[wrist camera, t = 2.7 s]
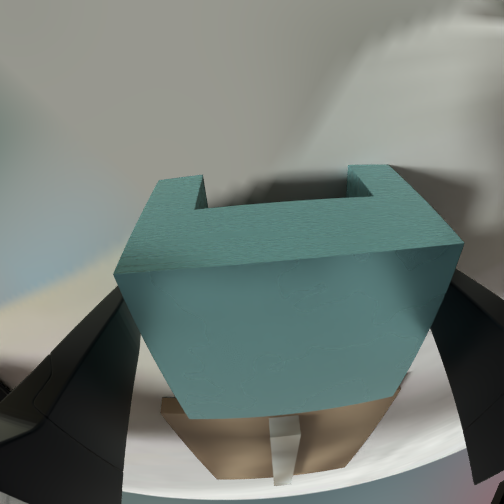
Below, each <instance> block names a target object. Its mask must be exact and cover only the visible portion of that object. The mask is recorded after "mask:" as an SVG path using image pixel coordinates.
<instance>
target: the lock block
mask: <svg viewBox="0 0 504 504" xmlns="http://www.w3.org/2000/svg"><path fill="white" fill-rule="evenodd" d="M463 246H464V242H463V241H462V240H461V239H460V237H459V236H458V235H457V234H456V233H455V232H454V231H453V230H452V228H451V227H450V226H449V225H448V224H447V223H446V222H445V221H444V220H443V219H442V217H441V216H440V215H439V214H438V213H437V212H436V211H435V210H434V209H433V208H432V207H431V206H430V205H429V204H428V203H427V202H426V201H425V200H424V199H423V198H422V197H421V196H420V195H419V194H418V193H417V192H416V191H415V190H414V189H413V188H412V187H411V186H410V185H409V184H408V183H407V182H406V181H405V180H404V179H403V178H402V177H401V176H400V175H399V174H398V173H397V172H395V171H394V170H393V169H392V168H391V167H390V166H389V165H348V177H347V192H346V198H332V199H315V200H300V201H286V202H273V203H261V204H249V205H238V206H227V207H216V208H208V203H207V197H206V191H205V185H204V179H203V175H195V176H187V177H179V178H172V179H164V180H159V181H158V183H157V185H156V187H155V188H154V190H153V192H152V194H151V196H150V198H149V200H148V202H147V204H146V206H145V208H144V210H143V212H142V214H141V216H140V218H139V220H138V222H137V224H136V226H135V228H134V230H133V232H132V234H131V236H130V238H129V240H128V242H127V245H126V247H125V249H124V251H123V253H122V255H121V258H120V260H119V262H118V264H117V267H116V269H115V271H114V274H113V275H114V277H115V280H116V282H117V284H118V287H119V289H120V291H121V293H122V296H123V298H124V300H125V302H126V304H127V306H128V309H129V311H130V313H131V315H132V317H133V319H134V321H135V323H136V325H137V327H138V329H139V331H140V333H141V335H142V337H143V339H144V341H145V343H146V345H147V347H148V349H149V351H150V353H151V354H152V356H153V358H154V360H155V362H156V364H157V365H158V367H159V369H160V371H161V373H162V374H163V376H164V378H165V380H166V381H167V383H168V385H169V387H170V388H171V390H172V392H173V393H174V395H175V397H176V398H177V400H178V402H179V403H180V405H181V407H182V408H183V410H184V412H185V413H186V415H187V416H188V418H189V419H230V418H250V417H264V416H276V415H286V414H295V413H303V412H311V411H318V410H325V409H331V408H337V407H343V406H349V405H354V404H359V403H364V402H369V401H374V400H379V399H383V398H387V397H392V396H393V395H394V393H395V392H396V390H397V388H398V387H399V385H400V383H401V382H402V380H403V378H404V376H405V375H406V373H407V371H408V369H409V368H410V366H411V364H412V362H413V360H414V358H415V357H416V355H417V353H418V351H419V349H420V347H421V345H422V343H423V341H424V339H425V337H426V335H427V333H428V331H429V329H430V327H431V325H432V323H433V321H434V319H435V316H436V314H437V312H438V310H439V307H440V305H441V303H442V301H443V298H444V296H445V294H446V291H447V289H448V286H449V284H450V281H451V279H452V276H453V274H454V271H455V268H456V266H457V263H458V260H459V257H460V254H461V252H462V249H463Z"/></svg>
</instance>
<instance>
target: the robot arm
mask: <svg viewBox="0 0 504 504" xmlns="http://www.w3.org/2000/svg"><path fill="white" fill-rule="evenodd" d="M430 329H431V331H432V334H433V337H434V339H435V342H436V345H437V348H438V350H439V353H440V356H441V359H442V362H443V365H444V368H445V371H446V374H447V377H448V380H449V383H450V386H451V390H452V393H453V396H454V400H455V403H456V407H457V410H458V414H459V418H460V421H461V425H462V429H463V434H464V438H465V442H466V447H467V451H468V456H469V461H470V466H471V470H472V477H473V482H474V485H477V484H478V483H481V482H482V481H485V480H487V479H488V478H490V477H492V476H494V475H496V474H498V473H500V472H501V471H503V470H504V300H503V299H501V298H500V297H498V296H497V295H496V294H494V293H493V292H491V291H490V290H488V289H487V288H485V287H484V286H482V285H481V284H479V283H477V282H476V281H474V280H473V279H471V278H470V277H468V276H467V275H465V274H463V273H462V272H460V271H459V270H457V269H456V268H455V271H454V274H453V276H452V279H451V281H450V284H449V286H448V289H447V291H446V294H445V296H444V298H443V301H442V303H441V305H440V307H439V310H438V312H437V314H436V316H435V319H434V321H433V323H432V325H431V327H430ZM140 337H141V333H140V331H139V329H138V327H137V325H136V323H135V321H134V319H133V317H132V315H131V313H130V311H129V309H128V306H127V304H126V302H125V300H124V298H123V296H122V293H121V291H120V289H119V287H118V286H117V287H116V288H115V289H114V290H113V291H112V292H111V293H109V294H108V295H107V296H106V297H105V298H104V299H103V300H102V301H101V302H100V303H99V304H98V305H97V306H96V307H95V308H94V309H93V310H92V311H91V312H90V313H89V314H88V315H87V316H86V317H85V318H84V319H83V320H82V321H81V322H80V323H79V324H78V325H77V326H76V327H75V328H74V329H73V330H72V331H71V332H70V333H69V334H68V335H67V336H66V337H65V338H64V339H63V340H62V341H61V342H60V343H59V344H58V345H57V346H56V347H55V348H54V350H53V351H52V352H51V353H50V354H49V355H48V356H47V357H46V358H45V359H44V360H43V361H42V362H41V363H40V364H39V365H38V366H37V367H36V368H35V369H34V370H33V371H32V373H30V374H29V375H28V376H27V377H26V378H25V379H24V380H23V381H22V382H21V383H20V384H19V385H18V386H17V387H16V388H15V389H14V390H13V391H12V392H10V391H8V390H7V389H6V388H5V387H4V386H3V385H2V384H1V383H0V504H121V499H122V483H123V472H122V471H123V469H124V458H125V448H126V438H127V430H128V422H129V414H130V407H131V400H132V393H133V386H134V380H135V374H136V368H137V362H138V356H139V349H140ZM491 504H504V480H503V481H502V482H500V483H499V486H498V488H497V491H496V493H495V495H494V498H493V500H492V502H491Z"/></svg>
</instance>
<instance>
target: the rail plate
mask: <svg viewBox="0 0 504 504" xmlns="http://www.w3.org/2000/svg"><path fill="white" fill-rule="evenodd" d="M400 390H401V388H400V385H399V387H398V388H397V390H396V392H395V393H394V395H393V396H392V397H387V398H383V399H379V400H374V401H369V402H364V403H359V404H354V405H349V406H343V407H337V408H331V409H325V410H318V411H311V412H303V413H295V414H286V415H276V416H264V417H250V418H230V419H189V418H188V416H187V415H186V413H185V412H184V410H183V408H182V407H181V405H180V403H179V402H178V400H177V398H162V404H161V415H162V416H163V417H164V418H165V420H166V421H167V422H168V424H169V425H170V426H171V427H172V429H173V430H174V431H175V432H176V434H177V435H178V436H179V437H180V438H181V440H182V441H183V442H184V443H185V444H186V446H187V447H188V448H189V449H190V450H191V451H192V452H193V454H194V455H195V456H196V457H197V458H198V459H199V460H200V462H201V463H202V464H203V465H204V466H205V467H206V468H207V469H208V470H209V471H210V472H211V473H212V475H213V476H214V477H215V478H216V479H255V478H270V477H274V486H280V485H290V484H291V482H292V477H293V475H300V474H307V473H314V472H321V471H327V470H333V469H338V468H343V467H345V466H346V465H347V464H348V463H349V461H350V460H351V459H352V458H353V457H354V455H355V454H356V453H357V451H358V450H359V449H360V448H361V446H362V445H363V444H364V442H365V441H366V440H367V438H368V437H369V436H370V434H371V433H372V431H373V430H374V429H375V427H376V426H377V424H378V423H379V422H380V420H381V419H382V417H383V416H384V414H385V413H386V411H387V410H388V408H389V407H390V405H391V404H392V402H393V401H394V399H395V398H396V396H397V395H398V393H399V391H400Z"/></svg>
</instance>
